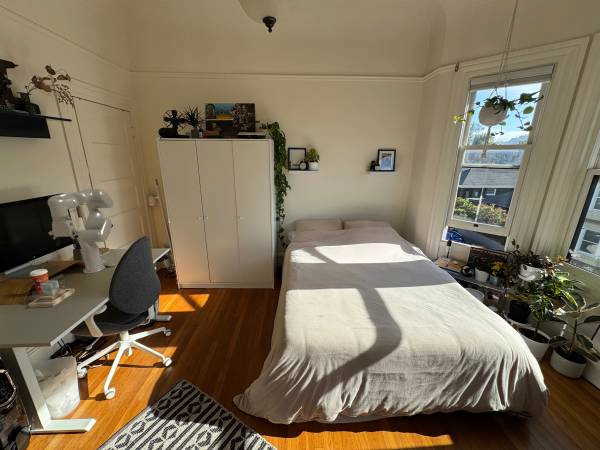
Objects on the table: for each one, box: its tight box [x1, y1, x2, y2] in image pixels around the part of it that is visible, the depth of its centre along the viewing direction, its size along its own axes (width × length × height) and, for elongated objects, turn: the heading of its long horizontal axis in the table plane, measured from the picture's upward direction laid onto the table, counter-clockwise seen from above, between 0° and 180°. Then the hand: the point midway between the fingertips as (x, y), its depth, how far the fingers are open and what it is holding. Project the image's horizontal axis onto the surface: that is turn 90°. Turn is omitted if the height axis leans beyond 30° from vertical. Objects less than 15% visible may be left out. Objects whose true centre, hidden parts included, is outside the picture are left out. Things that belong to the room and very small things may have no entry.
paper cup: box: [29, 268, 50, 295], centre depth 150 cm, size 8×8×14 cm
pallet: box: [38, 280, 66, 300], centre depth 142 cm, size 9×7×8 cm
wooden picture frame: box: [28, 288, 76, 309], centre depth 143 cm, size 16×12×2 cm
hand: (67, 244), depth 154 cm, fingers open, 9 cm apart
